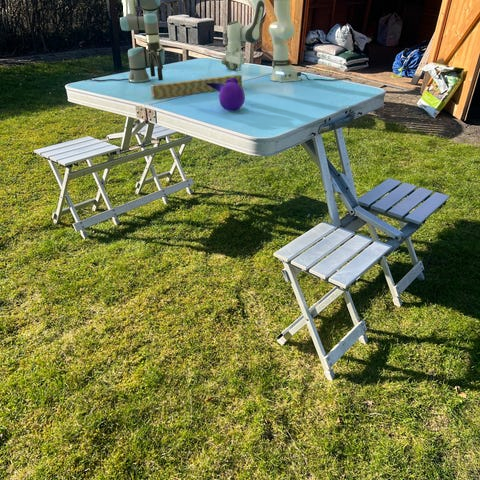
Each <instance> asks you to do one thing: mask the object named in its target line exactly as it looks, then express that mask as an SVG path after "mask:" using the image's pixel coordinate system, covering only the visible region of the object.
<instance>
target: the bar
mask: <svg viewBox="0 0 480 480" xmlns="http://www.w3.org/2000/svg"><path fill="white" fill-rule="evenodd" d="M231 78H236V79H237V80H238V85H240V86H241V87H242V88H243V76H242V74H232V75H223V76H216V77H208V78H200V79H191V80H190V79H189V80H183V81H176V82H167V83H166V82H165V83H157V84H151V85H150V91H151V98H152V99H153V100H160V99H166V98H167V99H169V98H174V97H181V96H182V97H183V96H188V95H198V94H204V93H211V92H219V91H218V90H216V89H214V88H212V87H210V86H208V85H207V84H206V83H221V84H226V81H227V80H228V79H231Z"/></svg>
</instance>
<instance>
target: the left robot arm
mask: <svg viewBox="0 0 480 480" xmlns="http://www.w3.org/2000/svg"><path fill="white" fill-rule="evenodd" d="M121 4H122V6H123V7H122V8H123V10H122V11H123V16H121V17H120V18H119V22H120V23H119V24H120V28H121V30H122V31H126V32H129V31H145V39H146V40H145V41H146V47H145V48H144V47H143V46H138V47H132V48H130V49H128V50H127V56H128V57H127V58H128V64H129V65H128V66H129V76H128V78H119V79H117V78H107V79H95V78H94V80H92V79H93V78H88V77H87V78H85V79H84V80H83V81H84V82H86V81H93V82H94V81H95V82H107V81H115V82H116V81H117V82H118V81H119V82H120V81H121V82H122V81H128V82H129V83H133V84H141V83H148V82H150V77H152V78H153V77H156V71H157V79H158V80H157V81H160V82H161V81H164V76H163V69H164V66H163V65H165V61H166V60H165V59H166V56H165V55H166V54H165V53H166V51H165V50H166V49H165V48H163V45H162V44H161V41H160V32H159V19H158V10H159V7H160V6H161V0H121ZM136 7H140V9H141V10H142V11H143V13H144V15H143V16H137V11H136ZM155 66H156V69H155ZM147 67H149V70H150V71H149V72H150V75H149V73H148V71H147Z"/></svg>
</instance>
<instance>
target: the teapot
mask: <svg viewBox="0 0 480 480" xmlns="http://www.w3.org/2000/svg"><path fill="white" fill-rule="evenodd" d="M244 61H245V57H244ZM221 64H222V65H224V66H225V68H226V69H227V70H228V71H235V70H236V71H237V68H238V64H235V63H233V66H234V69H231V66H230V64H229V62H228V61H227V60H226V56H224V57H222V59H221Z"/></svg>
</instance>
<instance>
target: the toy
mask: <svg viewBox="0 0 480 480" xmlns="http://www.w3.org/2000/svg"><path fill="white" fill-rule="evenodd" d="M206 84H207V85H208V86H210V87H212V88H214V89H216V90H218V91H217V92H219V93H218V101H219V104H220V106H221V107H222V108H223V109H224V110H226V111H229V112H236V111H238V110H240V109H241V108H242V107H243V105H244V103H245V101H246V94H245V90H244V89H243V86H242V87H241V86H240V85H238V80H237V79H236V78H231V79H228V80H227V81H226V84H221V83H206Z"/></svg>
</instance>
